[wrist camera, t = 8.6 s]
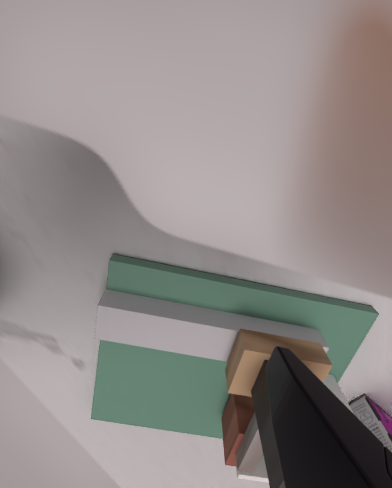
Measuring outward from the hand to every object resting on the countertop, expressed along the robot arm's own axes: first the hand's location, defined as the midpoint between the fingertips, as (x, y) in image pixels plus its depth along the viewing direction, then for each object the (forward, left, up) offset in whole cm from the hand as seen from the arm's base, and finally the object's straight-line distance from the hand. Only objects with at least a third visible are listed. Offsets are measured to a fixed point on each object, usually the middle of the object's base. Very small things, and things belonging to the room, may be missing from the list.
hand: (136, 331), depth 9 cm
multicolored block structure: (+9, -12, -11) cm, 19 cm away
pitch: (+7, -13, -12) cm, 19 cm away
